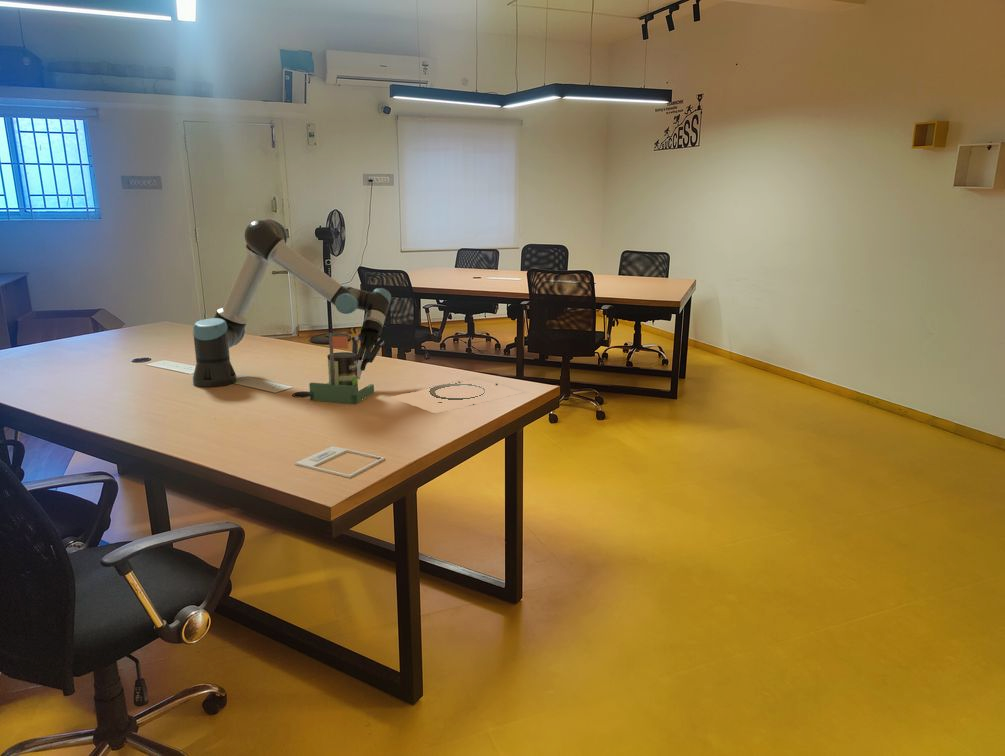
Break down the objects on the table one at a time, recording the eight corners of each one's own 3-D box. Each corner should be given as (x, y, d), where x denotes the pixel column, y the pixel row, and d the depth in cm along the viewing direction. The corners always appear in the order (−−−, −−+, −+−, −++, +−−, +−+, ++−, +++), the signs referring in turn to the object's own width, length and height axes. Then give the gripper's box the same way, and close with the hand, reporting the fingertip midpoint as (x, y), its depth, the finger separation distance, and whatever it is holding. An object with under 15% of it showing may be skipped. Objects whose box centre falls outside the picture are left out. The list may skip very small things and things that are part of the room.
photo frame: (333, 445, 185) (385, 456, 177) (333, 449, 185) (385, 460, 177) (294, 462, 172) (349, 475, 164) (295, 466, 172) (349, 479, 165)
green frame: (331, 389, 244) (328, 324, 238) (374, 392, 241) (372, 327, 235) (310, 400, 230) (306, 332, 224) (355, 404, 226) (353, 335, 220)
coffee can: (362, 390, 244) (361, 352, 240) (352, 397, 234) (350, 358, 230) (335, 388, 245) (334, 351, 242) (324, 395, 235) (322, 357, 232)
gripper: (391, 331, 256) (376, 383, 245) (360, 329, 259) (343, 381, 247) (386, 319, 250) (370, 373, 238) (354, 318, 252) (336, 370, 241)
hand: (356, 377), depth 243 cm, fingers closed
